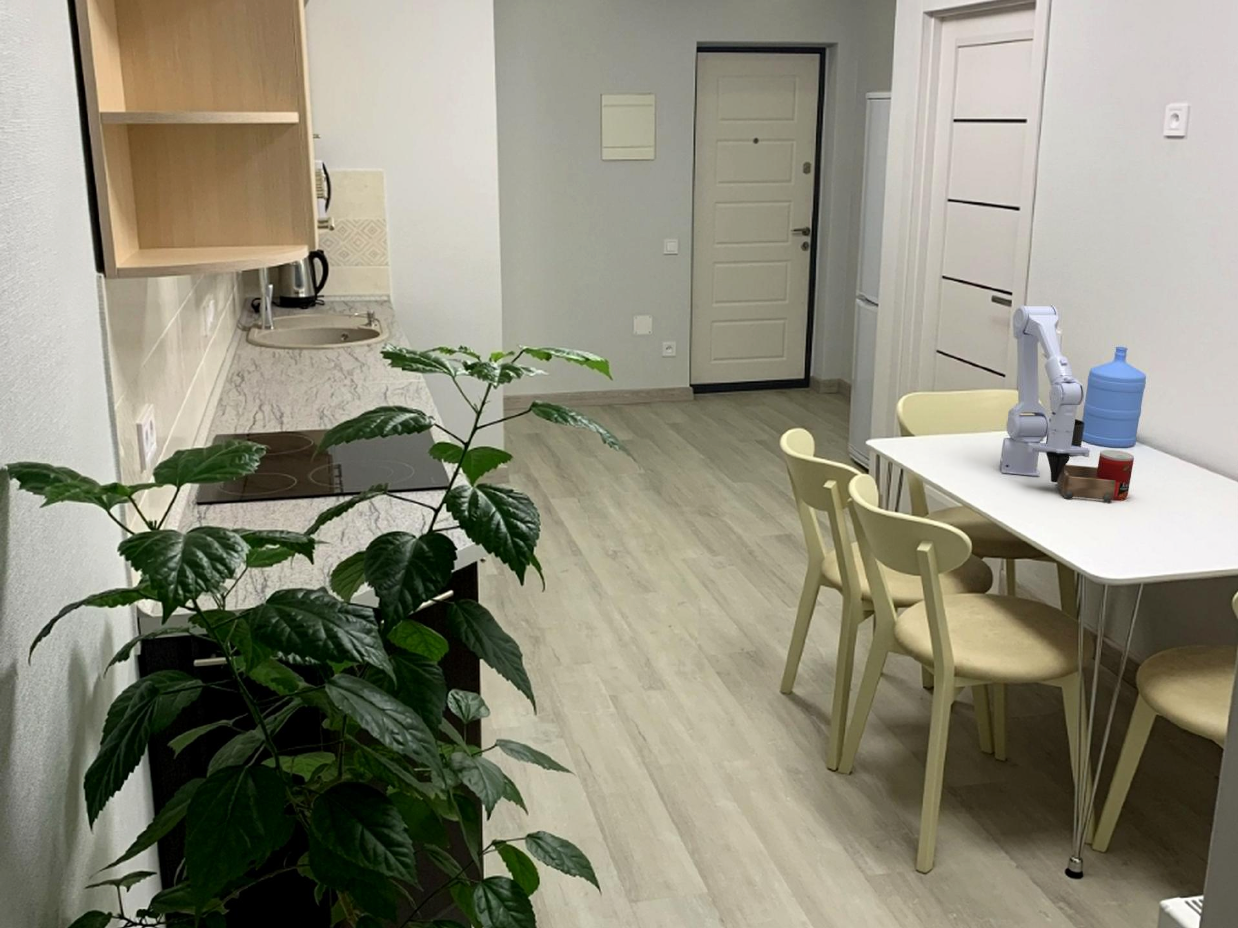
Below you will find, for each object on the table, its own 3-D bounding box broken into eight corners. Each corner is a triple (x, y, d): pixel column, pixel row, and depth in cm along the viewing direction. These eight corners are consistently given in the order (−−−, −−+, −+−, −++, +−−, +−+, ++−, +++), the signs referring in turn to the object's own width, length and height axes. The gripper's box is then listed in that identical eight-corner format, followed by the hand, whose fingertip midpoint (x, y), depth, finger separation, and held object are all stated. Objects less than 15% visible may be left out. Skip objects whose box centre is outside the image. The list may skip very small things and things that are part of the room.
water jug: (1144, 449, 345) (1160, 354, 337) (1090, 447, 345) (1104, 352, 337) (1123, 435, 360) (1138, 343, 352) (1071, 433, 360) (1084, 341, 352)
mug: (1068, 445, 346) (1072, 415, 344) (1085, 457, 335) (1090, 425, 332) (1036, 444, 346) (1040, 414, 343) (1052, 456, 334) (1057, 425, 332)
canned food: (1124, 502, 295) (1131, 460, 292) (1090, 496, 299) (1097, 454, 296) (1129, 495, 302) (1136, 453, 298) (1096, 489, 306) (1103, 447, 302)
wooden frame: (1062, 498, 297) (1066, 475, 295) (1056, 483, 309) (1059, 461, 307) (1113, 503, 294) (1116, 480, 293) (1104, 487, 307) (1107, 465, 305)
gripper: (1032, 430, 296) (1025, 482, 300) (1094, 436, 293) (1086, 488, 297) (1029, 424, 303) (1022, 474, 307) (1090, 429, 300) (1082, 480, 304)
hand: (1053, 481), depth 303 cm, fingers closed
